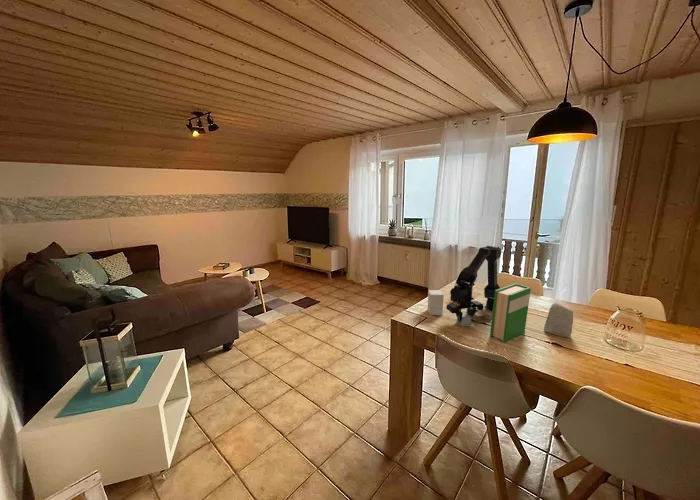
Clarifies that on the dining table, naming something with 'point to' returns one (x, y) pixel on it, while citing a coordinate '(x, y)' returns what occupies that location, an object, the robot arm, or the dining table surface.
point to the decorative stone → (559, 321)
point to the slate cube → (465, 320)
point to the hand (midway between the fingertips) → (463, 321)
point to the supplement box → (435, 302)
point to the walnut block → (481, 315)
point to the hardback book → (510, 312)
